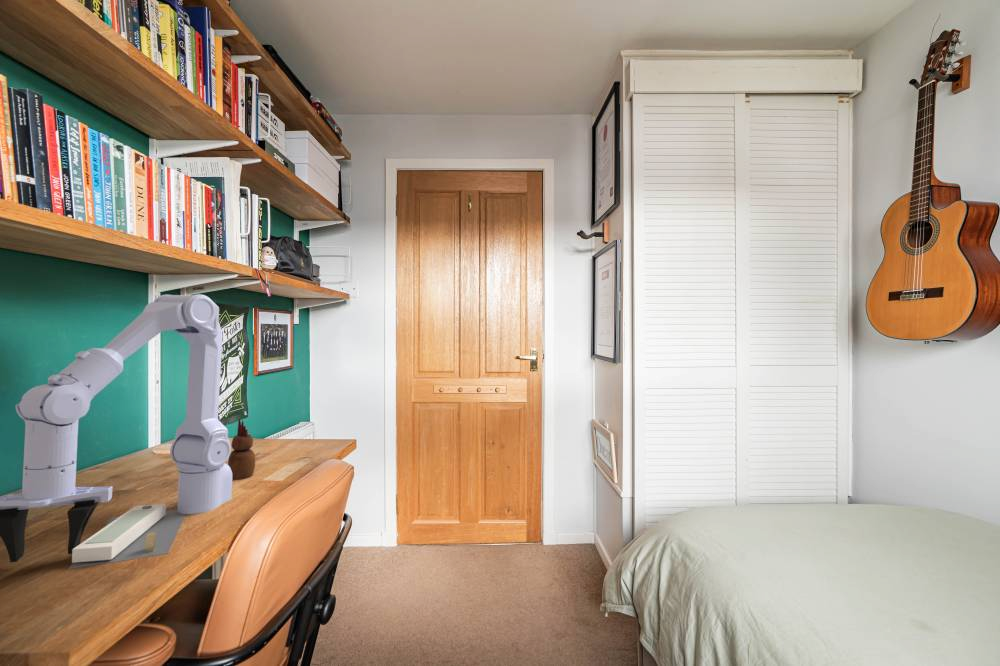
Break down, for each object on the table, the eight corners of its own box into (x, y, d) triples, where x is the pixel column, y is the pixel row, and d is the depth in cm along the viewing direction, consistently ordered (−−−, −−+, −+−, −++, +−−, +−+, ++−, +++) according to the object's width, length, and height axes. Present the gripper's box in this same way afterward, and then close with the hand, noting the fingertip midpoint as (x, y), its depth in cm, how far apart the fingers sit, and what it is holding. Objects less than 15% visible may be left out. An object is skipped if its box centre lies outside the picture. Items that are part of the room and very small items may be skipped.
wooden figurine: (226, 478, 113) (228, 418, 113) (252, 474, 116) (254, 416, 116) (229, 485, 107) (231, 422, 108) (256, 481, 111) (258, 420, 111)
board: (111, 522, 85) (112, 504, 85) (188, 513, 90) (188, 495, 91) (67, 575, 66) (68, 552, 66) (167, 559, 72) (168, 537, 72)
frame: (135, 516, 85) (135, 504, 85) (165, 514, 86) (166, 503, 86) (71, 562, 68) (72, 548, 68) (111, 559, 69) (111, 545, 69)
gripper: (-34, 477, 61) (-40, 577, 61) (103, 466, 68) (99, 557, 67) (-6, 463, 67) (-11, 555, 67) (117, 455, 74) (113, 538, 74)
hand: (46, 555), depth 68 cm, fingers open, 6 cm apart
